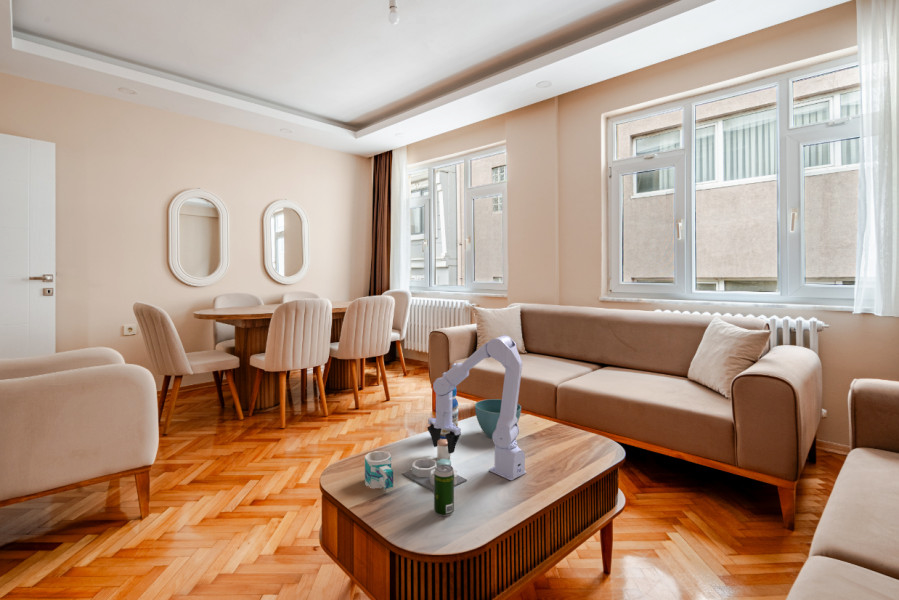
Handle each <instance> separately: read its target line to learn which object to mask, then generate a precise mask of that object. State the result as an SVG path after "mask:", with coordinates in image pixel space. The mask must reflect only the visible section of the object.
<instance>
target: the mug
mask: <svg viewBox="0 0 899 600" xmlns="http://www.w3.org/2000/svg"><path fill="white" fill-rule="evenodd" d="M364 485H366V487H367V486H369V487H371V488H370V489H375V488H380V489H382V487H383V489H385V490H388V489H391V488H393V487H394V470H393V469H392V455H391V452H389V451H386V450H374V451H371V452H368V453H367V454H365V455H364ZM369 487H368V488H369Z"/></svg>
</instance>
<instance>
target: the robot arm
mask: <svg viewBox="0 0 899 600" xmlns="http://www.w3.org/2000/svg"><path fill="white" fill-rule="evenodd" d="M489 358H492V359H494V360H495V361H497V362H499V363H500V364H501V365H502V366H503V367H504V369H505V372H504V378H503V388H502V394H501V395H502V396H501V400H502V403H501V411H500V417H499V419H498V422H497V426H496V429H495V431H494V432H493V435H492V442H493V443H494V463H493V464H494V466H492V467H490V468H488V471H489V472H491V473H493V474H496V475H498V476H501V477H502V478H504V479H507V480H509V481H513V480H515V479H517V478H519V477H520V476H523V475H525V474H526V473H527V471H526V470H525V469H526V466H525V465H526V463H525V462H526V461H525V460H526V456H525V452H524V450H523V449H521V448H520V447H519V446H518V442H517V437H518V436H519V434H520V427H519V425H518V423H519V421H518V419H517V417H516V412H517V404H519V403H518V402H519V394H520V388H521V387H520V386H521V380H522V379H521V378H522V372H523V371H522V370H523V360H522V357H521V356H520V353H519V350H518V348H517V343H516V342H515V341H514V339H513V338H511V337H510V336H509V335H507V334H502V335H499V336H498V337H496V338H492V339H490V340H489V341H487V342H486V343H484V344H483V345H481V346H480V347H478V349H476V351H474V352H473V353H472V354H471V355H470V356H469V357H468V358H467V359H466V360H464V362H457V363H456V362H455V363H453V364H452V365H451V368H450V369H449V370H447V371H446V372H445V371H444V372H443V373H442V374H441V375H442V376H441V377H437V378H436V379H435V381H433V384H432V385H433V386H432V388H433V391H434V393H435V417H430V418H427V419H428V422H427V424H428V425H429V426H427V427H426V428H427V431H428V432H429V434H430V438H431V442H432V446H433V447H434V448H437V441H438V440H440V434H441V429H444V430H447V431H449V432H450V433H448V434H445V436H446V439H447V443H448V453H449V454H450V455H451V454H453V453H455V449H456V445H457V442H458V440H459V439H460V437H461V435H462V432H461V430H462V429H461V427H459V426H458V427H457V426H456V425H455V424H453V423H452V392H453V390H454V389H455V387H456V388H457V386H458V385H460V383H461V382H463V381H464V380H465V379H466V378H468V377H469V376H470V370H472V368H474V367H475V366H477V365H478V364H479V363H481V361H483V360H484V359H489ZM517 422H518V423H517Z"/></svg>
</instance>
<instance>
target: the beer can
mask: <svg viewBox="0 0 899 600" xmlns="http://www.w3.org/2000/svg"><path fill="white" fill-rule="evenodd" d="M453 469H454V467H453V466H452V465H451V466H450V465H439V466H437V467H436V468H435V471H434V492H433V498H434V499H433V511H434V513H435V515H436V516H438V517H442V518H447V517H450V516H451V515H453V513H454V511H455V487H454V471H453Z"/></svg>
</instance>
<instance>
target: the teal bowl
mask: <svg viewBox="0 0 899 600" xmlns="http://www.w3.org/2000/svg"><path fill="white" fill-rule="evenodd" d="M501 403H502V398H501V399H498V398H497V399H496V398H495V399H494V398H493V399H492V398H491V399H490V398H489V399H482V400H479V401H477V402H476V403H475V404H474V410H475V416H476V419H477V423H478V425H479V427H480V428H481V430H482V432H483V433H484V435H485V436H487V438H488V439H492V435H493V432H494V431H495V429H496V426H497V422H498V419H499V417H500V411H501ZM521 413H522V406H521V405H520V404H519V403H518V404H517V412H516V417H517V419H518V422H517V424H518V423H519V420H520V416H521ZM492 440H493V439H492Z"/></svg>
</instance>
